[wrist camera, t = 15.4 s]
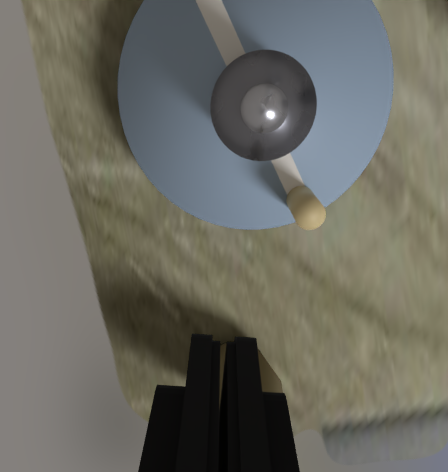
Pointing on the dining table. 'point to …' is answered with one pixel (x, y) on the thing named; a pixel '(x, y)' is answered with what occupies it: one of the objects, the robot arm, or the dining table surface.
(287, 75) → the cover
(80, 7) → the dining table surface
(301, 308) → the dining table surface
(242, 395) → the robot arm
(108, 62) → the dining table surface
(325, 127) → the turntable
